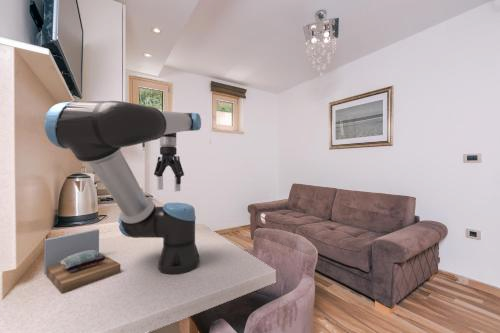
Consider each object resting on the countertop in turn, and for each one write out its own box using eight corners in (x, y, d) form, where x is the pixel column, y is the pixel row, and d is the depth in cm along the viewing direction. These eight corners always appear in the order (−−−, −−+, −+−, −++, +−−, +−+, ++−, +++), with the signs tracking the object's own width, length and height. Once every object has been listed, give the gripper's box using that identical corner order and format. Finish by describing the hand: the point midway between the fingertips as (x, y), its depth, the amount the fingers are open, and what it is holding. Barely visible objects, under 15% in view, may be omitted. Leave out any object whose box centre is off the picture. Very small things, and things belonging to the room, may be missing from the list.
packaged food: (58, 268, 72) (58, 254, 72) (99, 257, 81) (99, 244, 81) (64, 277, 67) (65, 261, 67) (107, 263, 76) (108, 250, 76)
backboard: (98, 259, 87) (99, 229, 87) (45, 274, 74) (45, 240, 74) (97, 257, 88) (97, 229, 88) (44, 273, 75) (44, 239, 75)
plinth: (120, 272, 75) (120, 264, 75) (61, 294, 62) (61, 283, 62) (100, 260, 86) (100, 252, 86) (46, 276, 73) (46, 267, 73)
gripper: (191, 145, 99) (191, 191, 99) (160, 148, 113) (160, 188, 113) (178, 144, 93) (178, 192, 92) (146, 147, 106) (146, 189, 106)
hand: (168, 190), depth 103 cm, fingers open, 13 cm apart
